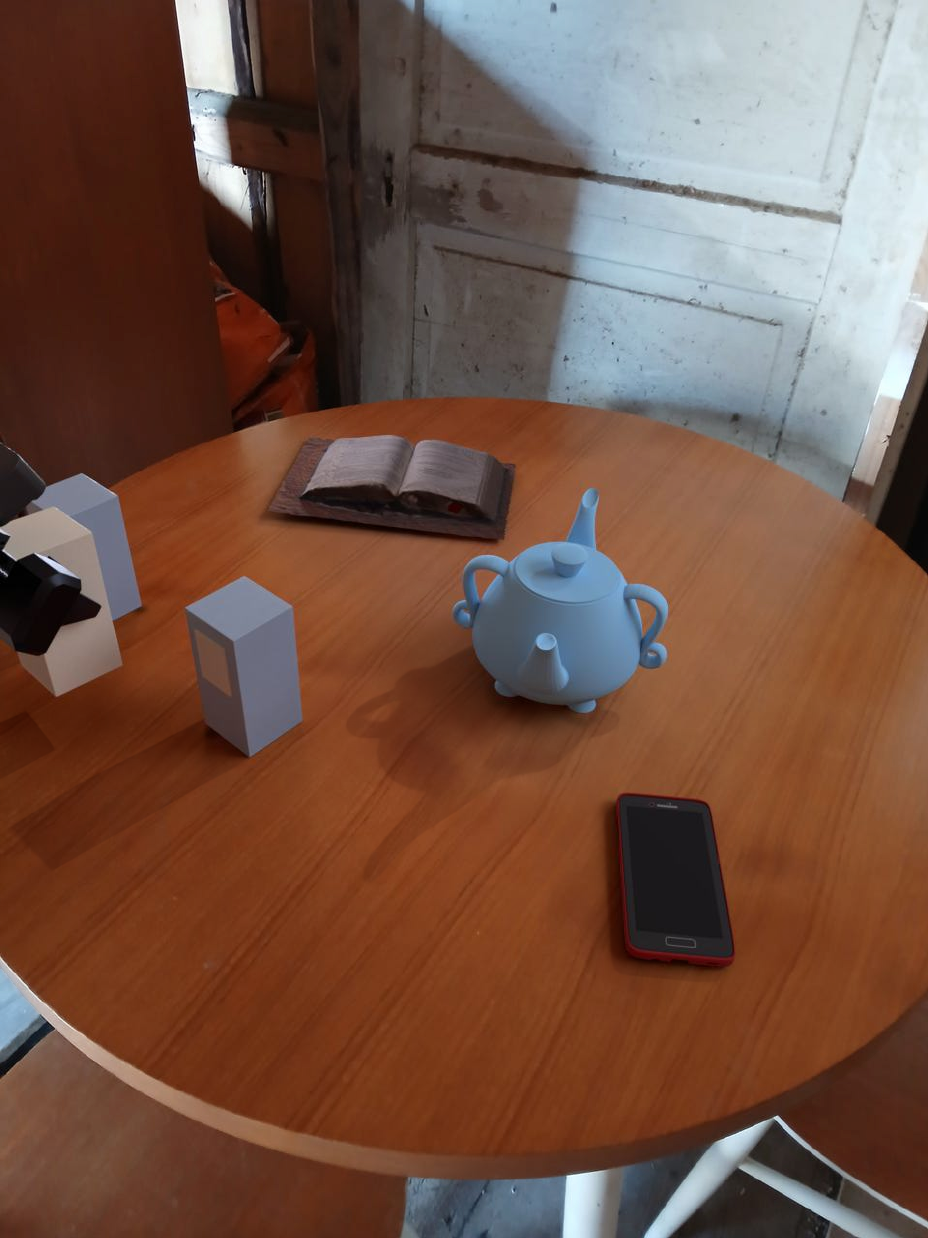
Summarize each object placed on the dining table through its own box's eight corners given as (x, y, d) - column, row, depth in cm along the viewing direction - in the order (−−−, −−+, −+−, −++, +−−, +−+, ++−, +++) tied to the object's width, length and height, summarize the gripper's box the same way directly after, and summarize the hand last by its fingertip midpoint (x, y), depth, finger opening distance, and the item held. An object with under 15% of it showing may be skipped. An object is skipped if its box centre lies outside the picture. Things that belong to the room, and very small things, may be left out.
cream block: (53, 698, 73) (13, 561, 66) (18, 666, 76) (-24, 532, 69) (123, 665, 77) (92, 532, 70) (87, 636, 80) (53, 506, 73)
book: (504, 547, 104) (508, 512, 101) (265, 516, 105) (264, 481, 103) (515, 472, 120) (519, 440, 118) (308, 446, 122) (308, 414, 119)
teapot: (577, 598, 97) (595, 483, 88) (682, 719, 83) (716, 598, 74) (437, 632, 91) (442, 514, 82) (525, 768, 77) (542, 643, 69)
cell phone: (625, 959, 64) (627, 952, 63) (614, 798, 75) (616, 790, 75) (735, 970, 63) (738, 963, 63) (707, 806, 75) (710, 799, 74)
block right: (247, 759, 77) (230, 642, 68) (203, 724, 79) (182, 608, 71) (302, 721, 80) (292, 606, 72) (258, 689, 83) (244, 575, 75)
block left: (87, 634, 88) (56, 521, 80) (53, 608, 91) (20, 496, 83) (142, 606, 92) (118, 495, 84) (108, 581, 95) (81, 472, 87)
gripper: (19, 476, 55) (193, 551, 69) (-119, 382, 64) (59, 466, 78) (-69, 634, 56) (121, 678, 69) (-195, 518, 64) (-4, 578, 78)
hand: (73, 592), depth 74 cm, fingers closed on cream block, 7 cm apart
